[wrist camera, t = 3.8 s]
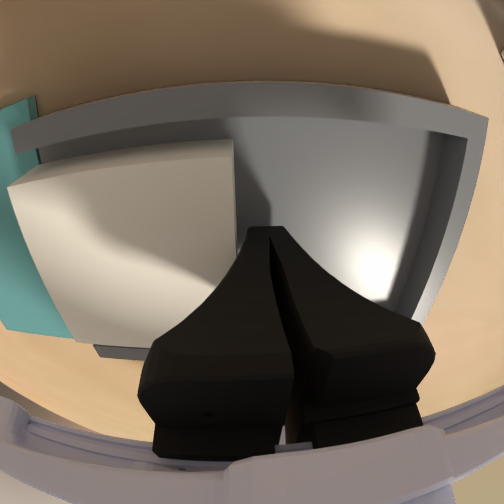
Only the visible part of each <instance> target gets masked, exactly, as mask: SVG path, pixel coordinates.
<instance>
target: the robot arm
mask: <svg viewBox="0 0 504 504" xmlns="http://www.w3.org/2000/svg"><path fill="white" fill-rule="evenodd" d="M435 354H436V353H435V351H434V348H433V346H432V344H431V342H430V340H429V338H428V336H427V334H426V332H425V330H424V328H423V327H422V325H421V324H420V322H417V321H415V320H412V319H410V318H407V317H405V316H402V315H400V314H397V313H395V312H392V311H390V310H388V309H386V308H384V307H382V306H380V305H378V304H376V303H374V302H372V301H370V300H369V299H367V298H365V297H363V296H362V295H360V294H358V293H357V292H355V291H353V290H352V289H350V288H349V287H347V286H346V285H344V284H343V283H341V282H340V281H339V280H337V279H336V278H335V277H333V276H332V275H331V274H329V273H328V272H327V271H326V270H325V269H323V268H322V267H321V266H320V265H319V264H318V263H317V262H316V261H315V260H314V259H313V258H312V257H311V256H310V255H309V254H308V253H307V252H306V251H305V250H304V249H303V248H302V247H301V246H300V245H299V244H298V243H297V241H296V240H295V239H294V238H293V237H292V236H291V234H290V233H289V232H288V231H287V230H286V228H285V227H284V226H258V227H249V228H248V229H247V234H246V238H245V240H244V243H243V245H242V247H241V249H240V251H239V253H238V256H237V257H236V259H235V261H234V263H233V264H232V266H231V267H230V269H229V271H228V272H227V274H226V275H225V277H224V278H223V279H222V281H221V282H220V283H219V284H218V286H217V287H216V288H215V289H214V291H213V292H212V293H211V294H210V295H209V296H208V297H207V298H206V299H205V301H204V302H203V303H202V304H201V305H200V306H199V307H197V308H196V309H195V310H194V311H193V312H192V313H191V314H189V315H188V316H187V317H186V318H185V319H184V320H183V321H181V322H180V323H179V324H178V325H176V326H175V327H173V328H172V329H170V330H169V331H167V332H166V333H164V334H163V335H161V336H160V337H158V338H157V339H155V340H154V341H153V343H152V345H151V348H150V350H149V352H148V355H147V357H146V360H145V362H144V365H143V369H142V373H141V378H140V383H139V388H138V394H137V396H138V399H139V401H140V403H141V405H142V406H143V408H144V409H145V410H146V412H147V413H148V415H149V416H150V417H151V419H152V420H153V421H154V423H155V431H154V438H153V442H145V441H138V440H131V439H124V438H118V437H113V436H107V435H102V434H97V433H93V432H88V431H84V430H79V429H75V428H72V427H68V426H63V425H60V424H57V423H53V422H50V421H47V420H43V419H40V418H37V417H34V416H31V415H29V413H28V412H27V411H26V410H25V409H24V408H23V407H22V406H20V405H19V404H17V403H16V402H14V401H12V400H10V399H7V398H4V397H1V396H0V470H1V471H2V472H4V473H6V474H8V475H10V476H12V477H13V478H15V479H18V480H19V481H22V482H23V483H25V484H27V485H29V486H32V487H34V488H36V489H38V490H40V491H43V492H45V493H47V494H50V495H52V496H54V497H57V498H60V499H62V500H65V501H68V502H70V503H73V504H456V503H455V499H454V495H453V491H452V487H451V483H453V482H455V481H457V480H459V479H461V478H463V477H465V476H467V475H469V474H471V473H473V472H474V471H476V470H478V469H480V468H482V467H483V466H485V465H487V464H488V463H490V462H492V461H493V460H495V459H497V458H498V457H500V456H501V455H503V454H504V385H503V386H501V387H499V388H497V389H494V390H492V391H490V392H488V393H486V394H484V395H481V396H479V397H477V398H474V399H472V400H469V401H467V402H465V403H462V404H460V405H457V406H454V407H452V408H449V409H446V410H443V411H441V412H438V413H435V414H432V415H429V416H426V417H422V418H421V416H420V413H419V410H418V407H417V405H416V403H417V402H418V401H419V398H420V397H419V394H418V391H417V389H416V388H417V386H418V385H419V384H420V382H421V381H422V380H423V378H424V377H425V376H426V374H427V373H428V371H429V370H430V368H431V366H432V365H433V363H434V360H435Z"/></svg>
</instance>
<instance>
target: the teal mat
mask: <svg viewBox="0 0 504 504" xmlns="http://www.w3.org/2000/svg"><path fill="white" fill-rule="evenodd" d="M36 118H38V114H37V107H36V100H35V96H32V97H29V98H26V99H23V100H21V101H19V102H16V103H14V104H12V105H10V106H7V107H5V108H3V109H1V110H0V320H1V322H2V323H3V325H4V326H5V328H6V329H7V330H13V331H19V332H26V333H32V334H39V335H47V336H55V337H63V338H72V339H74V338H73V336H72V334H71V333H70V331H69V329H68V328H67V326H66V324H65V322H64V321H63V319H62V317H61V315H60V313H59V312H58V310H57V308H56V306H55V304H54V302H53V300H52V299H51V297H50V295H49V293H48V291H47V289H46V287H45V285H44V283H43V280H42V278H41V276H40V274H39V272H38V270H37V268H36V265H35V263H34V261H33V259H32V256H31V254H30V251H29V249H28V247H27V244H26V242H25V239H24V237H23V234H22V231H21V229H20V226H19V223H18V220H17V218H16V215H15V212H14V209H13V206H12V203H11V200H10V196H9V193H8V190H7V187H8V186H9V185H10V184H12V183H13V182H14V181H16V180H17V179H19V178H20V177H21V176H23V175H24V174H26V173H27V172H29V171H30V170H31V169H33V168H34V167H36V166H37V165H40V164H42V162H41V158H40V153H39V149H38V148H37V149H34V150H30V151H27V152H24V153H20V154H17V155H15V151H14V146H13V141H12V136H11V131H10V129H12V128H14V127H17V126H19V125H21V124H24V123H26V122H28V121H31V120H33V119H36Z"/></svg>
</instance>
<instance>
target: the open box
mask: <svg viewBox="0 0 504 504" xmlns="http://www.w3.org/2000/svg"><path fill="white" fill-rule="evenodd" d="M488 119H489V118H487V117H484V116H482V115H479V114H476V113H474V112H471V111H468V110H465V109H462V108H460V107H457V106H454V105H450V104H447V103H443V102H439V101H435V100H431V99H427V98H422V97H418V96H413V95H408V94H403V93H398V92H393V91H387V90H381V89H375V88H368V87H361V86H353V85H344V84H334V83H322V82H307V81H282V80H250V81H224V82H209V83H197V84H187V85H178V86H170V87H163V88H156V89H150V90H143V91H138V92H132V93H127V94H122V95H117V96H112V97H108V98H103V99H99V100H95V101H91V102H87V103H83V104H79V105H76V106H72V107H69V108H65V109H62V110H58V111H55V112H52V113H49V114H46V115H43V116H41V117H38V118H36V119H33V120H31V121H28V122H26V123H24V124H21V125H19V126H17V127H14V128H12V129H10V131H11V136H12V141H13V146H14V151H15V155H17V154H20V153H24V152H27V151H30V150H34V149H37V148H38V149H39V153H40V158H41V162H42V164H45V163H49V162H53V161H58V160H63V159H67V158H72V157H77V156H82V155H88V154H93V153H99V152H105V151H111V150H118V149H125V148H132V147H139V146H147V145H156V144H166V143H176V142H187V141H201V140H217V139H233V149H234V175H235V199H236V221H237V243H238V253H239V251H240V249H241V247H242V245H243V243H244V240H245V238H246V234H247V229H248V228H249V227H258V226H284V227H285V228H286V230H287V231H288V232H289V233H290V234H291V236H292V237H293V238H294V239H295V240H296V241H297V243H298V244H299V245H300V246H301V247H302V248H303V249H304V250H305V251H306V252H307V253H308V254H309V255H310V256H311V257H312V258H313V259H314V260H315V261H316V262H317V263H318V264H319V265H320V266H321V267H322V268H323V269H325V270H326V271H327V272H328V273H329V274H331V275H332V276H333V277H335V278H336V279H337V280H339V281H340V282H341V283H343V284H344V285H346V286H347V287H349V288H350V289H352V290H353V291H355V292H357V293H358V294H360V295H362V296H363V297H365V298H367V299H369V300H370V301H372V302H374V303H376V304H378V305H380V306H382V307H384V308H386V309H388V310H390V311H392V312H395V313H397V314H400V315H402V316H405V317H407V318H410V319H412V320H415V321H417V322H420V324H421V325H423V323H424V321H425V319H426V317H427V315H428V313H429V311H430V309H431V307H432V305H433V303H434V301H435V299H436V296H437V294H438V292H439V290H440V287H441V285H442V283H443V280H444V278H445V276H446V273H447V271H448V268H449V266H450V263H451V261H452V258H453V256H454V253H455V250H456V247H457V245H458V242H459V239H460V236H461V233H462V230H463V227H464V224H465V221H466V218H467V215H468V211H469V208H470V204H471V201H472V197H473V194H474V190H475V186H476V182H477V178H478V174H479V169H480V165H481V160H482V155H483V150H484V145H485V139H486V133H487V126H488ZM93 346H94V348H95V350H96V351H97V353H98V355H99V356H100V357H104V358H115V359H127V360H142V361H145V360H146V357H147V355H148V352H149V350H150V348H141V347H124V346H110V345H99V344H93Z"/></svg>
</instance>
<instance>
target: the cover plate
mask: <svg viewBox="0 0 504 504" xmlns="http://www.w3.org/2000/svg"><path fill="white" fill-rule="evenodd" d="M7 190H8V193H9V196H10V200H11V203H12V206H13V209H14V212H15V215H16V218H17V220H18V223H19V226H20V229H21V231H22V234H23V237H24V239H25V242H26V244H27V247H28V249H29V251H30V254H31V256H32V259H33V261H34V263H35V265H36V268H37V270H38V272H39V274H40V276H41V278H42V280H43V283H44V285H45V287H46V289H47V291H48V293H49V295H50V297H51V299H52V300H53V302H54V304H55V306H56V308H57V310H58V312H59V313H60V315H61V317H62V319H63V321H64V322H65V324H66V326H67V328H68V329H69V331H70V333H71V334H72V336H73V338H74V339H75V341H76V342H79V343H88V344H99V345H110V346H124V347H141V348H151V345H152V343H153V341H154V340H155V339H157V338H158V337H160V336H161V335H163V334H164V333H166V332H167V331H169V330H170V329H172V328H173V327H175V326H176V325H178V324H179V323H180V322H181V321H183V320H184V319H185V318H186V317H187V316H188V315H189V314H191V313H192V312H193V311H194V310H195V309H196V308H197V307H199V306H200V305H201V304H202V303H203V302H204V301H205V299H206V298H207V297H208V296H209V295H210V294H211V293H212V292H213V291H214V289H215V288H216V287H217V286H218V284H219V283H220V282H221V281H222V279H223V278H224V277H225V275H226V274H227V272H228V271H229V269H230V267H231V266H232V264H233V263H234V261H235V259H236V257H237V256H238V243H237V221H236V199H235V175H234V149H233V139H217V140H201V141H187V142H176V143H166V144H156V145H147V146H139V147H132V148H125V149H118V150H111V151H105V152H99V153H93V154H88V155H82V156H77V157H72V158H67V159H63V160H58V161H53V162H49V163H45V164H40V165H37V166H36V167H34V168H33V169H31V170H30V171H29V172H27V173H26V174H24V175H23V176H21V177H20V178H19V179H17V180H16V181H14V182H13V183H12V184H10V185H9V186H8V187H7Z"/></svg>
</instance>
